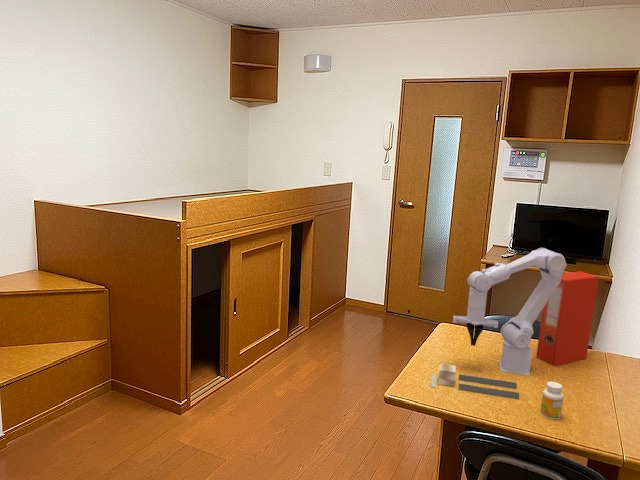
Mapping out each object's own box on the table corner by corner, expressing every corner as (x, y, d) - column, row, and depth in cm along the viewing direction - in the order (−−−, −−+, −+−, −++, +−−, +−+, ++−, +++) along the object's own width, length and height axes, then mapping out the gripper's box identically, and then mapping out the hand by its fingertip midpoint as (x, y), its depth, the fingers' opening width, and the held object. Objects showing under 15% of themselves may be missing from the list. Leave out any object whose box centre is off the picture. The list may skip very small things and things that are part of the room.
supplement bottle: (536, 410, 145) (540, 380, 143) (553, 410, 145) (558, 380, 143) (546, 420, 140) (550, 389, 138) (564, 420, 140) (568, 389, 138)
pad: (456, 378, 163) (456, 378, 163) (456, 391, 155) (456, 390, 155) (432, 374, 165) (432, 374, 165) (430, 387, 157) (430, 386, 157)
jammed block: (454, 379, 161) (455, 365, 160) (454, 386, 157) (455, 372, 156) (438, 377, 163) (440, 363, 162) (438, 384, 158) (439, 369, 157)
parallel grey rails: (515, 388, 158) (516, 382, 157) (518, 400, 150) (519, 394, 150) (458, 379, 162) (458, 374, 162) (458, 390, 155) (458, 384, 155)
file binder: (586, 359, 182) (599, 276, 176) (554, 366, 175) (566, 280, 169) (567, 350, 189) (579, 271, 183) (536, 357, 182) (546, 274, 176)
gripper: (454, 307, 164) (451, 345, 166) (500, 313, 160) (495, 352, 162) (454, 301, 170) (451, 338, 173) (498, 306, 167) (494, 344, 169)
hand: (472, 344), depth 168 cm, fingers closed
